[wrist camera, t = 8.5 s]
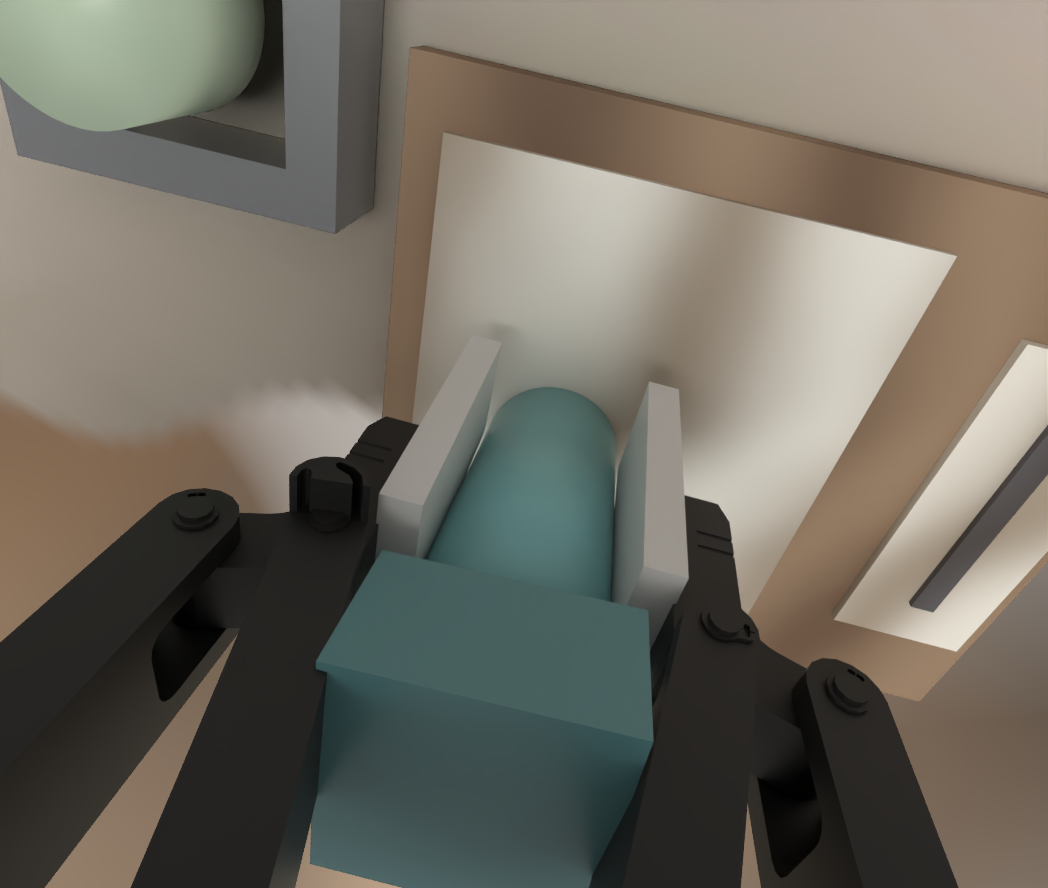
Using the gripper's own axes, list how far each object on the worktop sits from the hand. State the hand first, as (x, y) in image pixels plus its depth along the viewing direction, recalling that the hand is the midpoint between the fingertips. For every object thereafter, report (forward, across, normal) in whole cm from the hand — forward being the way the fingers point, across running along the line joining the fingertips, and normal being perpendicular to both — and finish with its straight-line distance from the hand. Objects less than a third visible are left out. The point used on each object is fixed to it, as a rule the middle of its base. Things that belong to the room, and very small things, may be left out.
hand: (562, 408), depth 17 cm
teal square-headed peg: (+1, 0, -2) cm, 3 cm away
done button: (+1, -10, +7) cm, 12 cm away
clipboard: (+3, +5, -1) cm, 6 cm away
